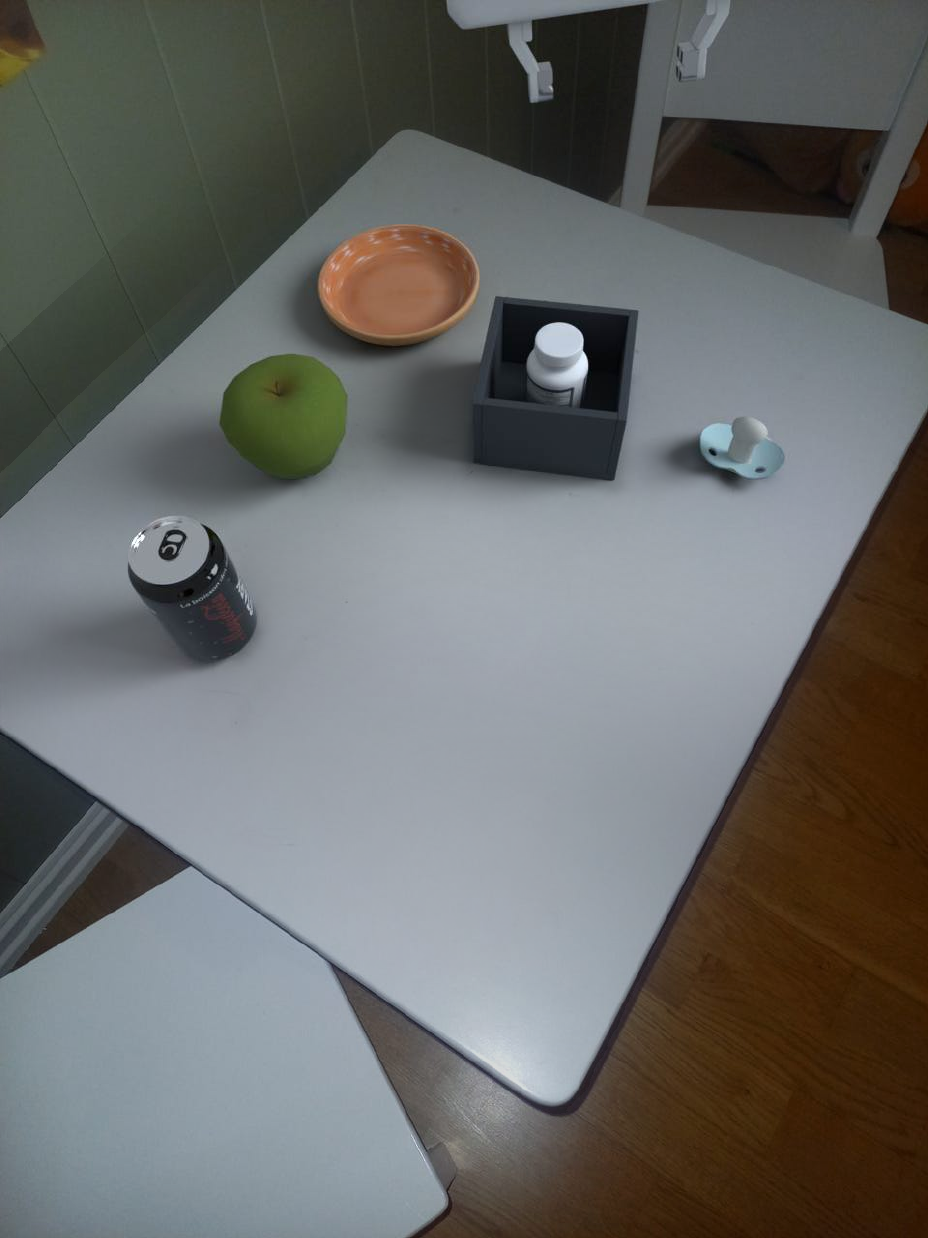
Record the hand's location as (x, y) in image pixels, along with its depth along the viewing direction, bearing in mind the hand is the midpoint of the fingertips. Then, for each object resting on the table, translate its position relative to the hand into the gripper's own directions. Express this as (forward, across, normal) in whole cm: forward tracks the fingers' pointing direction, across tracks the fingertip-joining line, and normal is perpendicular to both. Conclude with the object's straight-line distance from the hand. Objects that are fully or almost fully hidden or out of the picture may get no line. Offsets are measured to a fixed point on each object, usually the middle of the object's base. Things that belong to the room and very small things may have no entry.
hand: (614, 88), depth 54 cm
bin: (+28, -5, +5) cm, 29 cm away
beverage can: (+30, -34, -15) cm, 48 cm away
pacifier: (+31, +12, -1) cm, 33 cm away
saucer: (+23, -18, +20) cm, 36 cm away
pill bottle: (+27, -4, +4) cm, 28 cm away
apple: (+27, -28, +2) cm, 39 cm away
